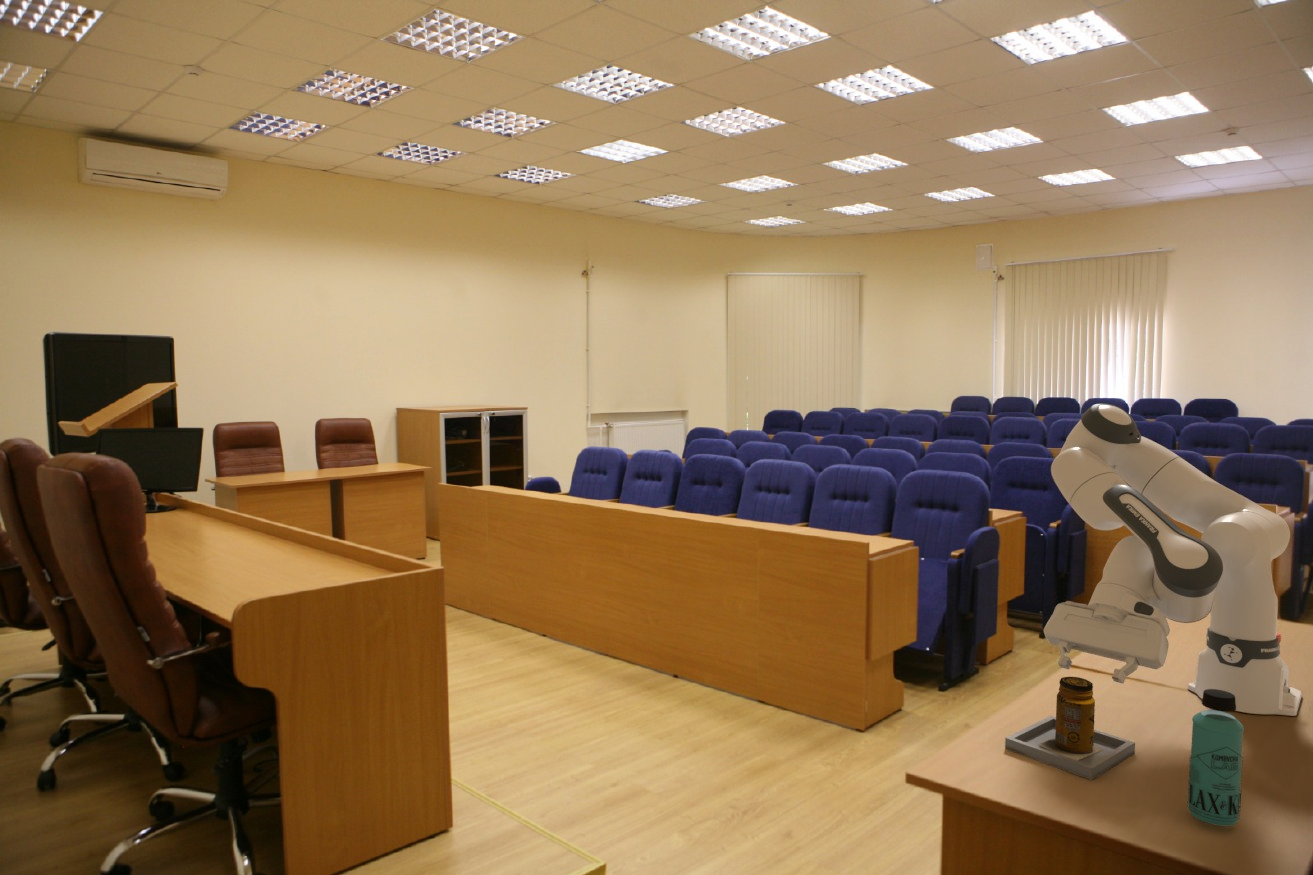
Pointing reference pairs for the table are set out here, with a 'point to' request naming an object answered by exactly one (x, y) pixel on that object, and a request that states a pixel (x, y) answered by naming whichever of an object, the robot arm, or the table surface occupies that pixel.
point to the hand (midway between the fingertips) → (1089, 673)
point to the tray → (1086, 767)
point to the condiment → (1074, 720)
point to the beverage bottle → (1216, 761)
